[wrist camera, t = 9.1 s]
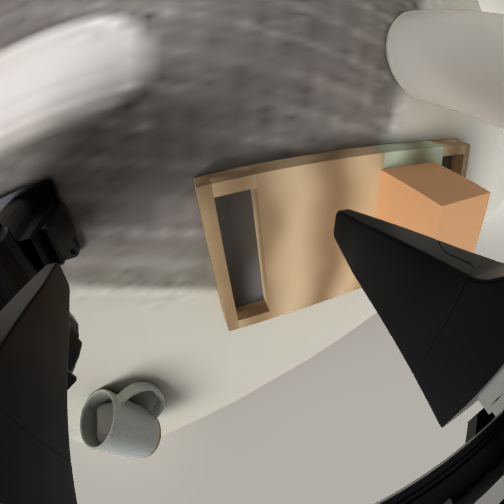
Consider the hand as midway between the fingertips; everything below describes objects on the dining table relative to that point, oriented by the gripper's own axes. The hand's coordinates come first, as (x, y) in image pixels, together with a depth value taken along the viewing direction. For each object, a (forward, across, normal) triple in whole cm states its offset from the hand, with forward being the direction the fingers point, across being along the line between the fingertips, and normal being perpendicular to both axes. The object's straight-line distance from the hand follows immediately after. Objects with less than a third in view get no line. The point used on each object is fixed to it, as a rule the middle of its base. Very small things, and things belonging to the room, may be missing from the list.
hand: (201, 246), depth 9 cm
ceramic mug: (+12, +12, +28) cm, 33 cm away
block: (+11, -20, +8) cm, 24 cm away
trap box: (+13, -16, +9) cm, 22 cm away
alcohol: (+14, -21, -8) cm, 26 cm away
